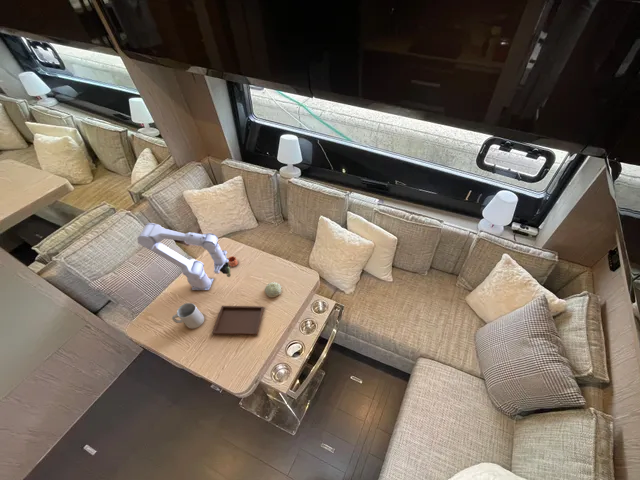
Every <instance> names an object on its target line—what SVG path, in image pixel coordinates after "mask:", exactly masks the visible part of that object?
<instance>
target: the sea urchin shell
mask: <svg viewBox="0 0 640 480" xmlns="http://www.w3.org/2000/svg"><path fill="white" fill-rule="evenodd" d="M282 289H283V288H282V285H281V284H280V283H279V282H274V281H273V282H272V281H271V282H269V283H267V284H266V286H265V287H264V293H265V294H266V296H267V297H269V298H275V297H278V296H279V295H281V293H282Z"/></svg>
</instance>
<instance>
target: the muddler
mask: <svg viewBox="0 0 640 480" xmlns="http://www.w3.org/2000/svg"><path fill="white" fill-rule="evenodd" d="M226 269H227V274H226V277H227V278H230V277H231V275H232V274H231V268H230V266H229V267H226Z"/></svg>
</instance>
